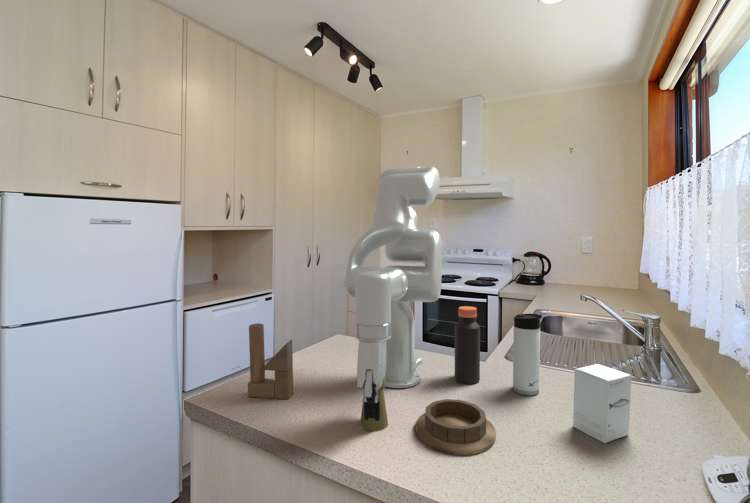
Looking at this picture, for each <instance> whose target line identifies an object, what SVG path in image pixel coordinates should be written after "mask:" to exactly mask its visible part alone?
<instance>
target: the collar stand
mask: <svg viewBox="0 0 750 503" xmlns="http://www.w3.org/2000/svg"><path fill="white" fill-rule="evenodd" d="M415 433H416V435H417V438H418V439H419V440H420V442H422V443H423V444H424V445H425V446H427V447H429V448H430V449H433V450H435V451H438V452H439V453H444V454H448V455H454V456H473V455H477V454H481V453H485V452H486V451H489V450H491V448H492V447H493V446H494V444H496V443H495V442H496V441H497V440H496V439H497V431H496V428H495V426H494V425H493V423H491V421H489V420H488V419H487V416H486V412H485V410H483V409H482V408H481V407H479V406H478V405H477V404H475V403H472V402H469V401H465V400H461V399H450V398H449V399H448V398H447V399H439V400H434V401H432V402H431V403H430V404H428V405H426V407H425V412H424V413H422V414H421V415H420V416H419V417H418V419H417V420H416V422H415Z"/></svg>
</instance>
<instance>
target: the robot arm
mask: <svg viewBox="0 0 750 503" xmlns="http://www.w3.org/2000/svg"><path fill="white" fill-rule="evenodd" d="M378 181H379V182H378V184H377V185H378V186H377V192H376V196H375V197H376V198H375V205H374V212H373V219H372V224H371V226H370V228H369V229H367V230H366V231H365V232H364V233H362V235H361V236H360V237H359V238H358V239H357V241H355V243H354V244H353V246H352V248H351V250H350V253H349V255H348V260H347V265H346V271H345V278H344V280H345V281H344V287H345V291H346V293H347V295H348V296H349V297H351V298H352V299H355V302H354V306H355V307H354V308H355V312H354V313H355V338H356V340H358V348H357V365H356V366H357V369H356V386H357V388H358V389H362V388H363V387H362V386H363V384H364V382H365V395H364V394H363V396H364V419H365V420H368V418H375V420H376V421H379V419H380V401H378V389H379V388H380V387H381V385H382V381H383V378H384V376H385V379H386V385H385V388H390V389H407V388H411V387H414V386H416V385H418V384H419V383H420V382H421V374H420V373H419V372H418V371H417V370H416V368H417V367H418V366H420V365H422V363H423V359H422V358H421V357H417V358H416V357H415V356H416V355H415V350H416V347H415V346H416V345H415V343H416V342H415V340H416V339H415V324H416V323H415V315H414V312H413V311H412V309H411V308H410V306H409V304H407V302H416V303H417V302H418V303H419V302H421V303H432V302H436V301H438V300H439V299H440V295H441V292H442V291H441V290H442V280H443V279H442V275H443V274H442V273H443V271H442V270H443V240H442V236H441V234H440V232H438V231H436V230H434V229H427V228H426V229H424V228H422V229H420V228H419V229H418V215H417V212H416V211H415V209H414V208H413V207H428V206H430V205H432V204H433V202H434V201H435V199H436V197H437V195H438V193H439V189H440V183H441V180H440V173H439V171H438V169H437V168H436V167H435V166H429V165H428V166H410V167H408V166H407V167H404V166H403V167H393V168H388V169H386V170H384V171H382V172H381V173H380V175H379V179H378ZM384 246H385V257H386V259H387V260H388V261H389V262H393V263H399V264H421V265H422V266H419V265H417V266H416V265H388V266H384V267H383V266H382V267H381V266H364V262H365V261H366V258H367V257H368V256H369V255H370V254H372V253H373V252H374V251H375V250H378V249H379V248H381V247H384ZM423 265H424V266H423ZM373 384H376V387H372V385H373ZM372 390H375V394H374V393H372Z"/></svg>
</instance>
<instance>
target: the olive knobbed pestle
mask: <svg viewBox="0 0 750 503" xmlns="http://www.w3.org/2000/svg"><path fill="white" fill-rule="evenodd" d="M385 385H386V379H385V376H384V378H383V381H382V385H381V387H380V388H379V389H378V401H380V419H379V421H376V420H375V418H368V420H365V419H364V395H365V382H364V384H363V386H362V388H363V398H362V403H361V404H362V406H361V414H360V422H359V425H360V427H361V429H363V430H366V431H368V432H379V431H382V430H385V429H386V428H388V425H389V421H388V414H387V406H386V398H385V393H384V389H385V388H386V387H385ZM372 387H376V384H373V385H372ZM372 393H374V394H375V390H372Z"/></svg>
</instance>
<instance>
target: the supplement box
mask: <svg viewBox="0 0 750 503" xmlns="http://www.w3.org/2000/svg"><path fill="white" fill-rule="evenodd" d="M631 380H632V374H629V373H626V372H624V371H620V370H618V369H615V368H611V367H608V366H606V365H603V364H599V363H595V364H591V365H587V366H582V367H578V368H575V369H574V383H573V386H574V387H573V415H572V426H573V427H574V428H575V429H577V430H579V431H581V432H582V433H584V434H586V435H588V436H589V437H592V438H594V439H595V440H597V441H600V442H601V443H603V444H608V443H609V442H612V441H614V440H617V439H620V438H623V437H627V436H629V435H630V433H629V431H630V414H631V413H630V410H631V409H630V407H631V386H632V384H631V383H632V381H631Z"/></svg>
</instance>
